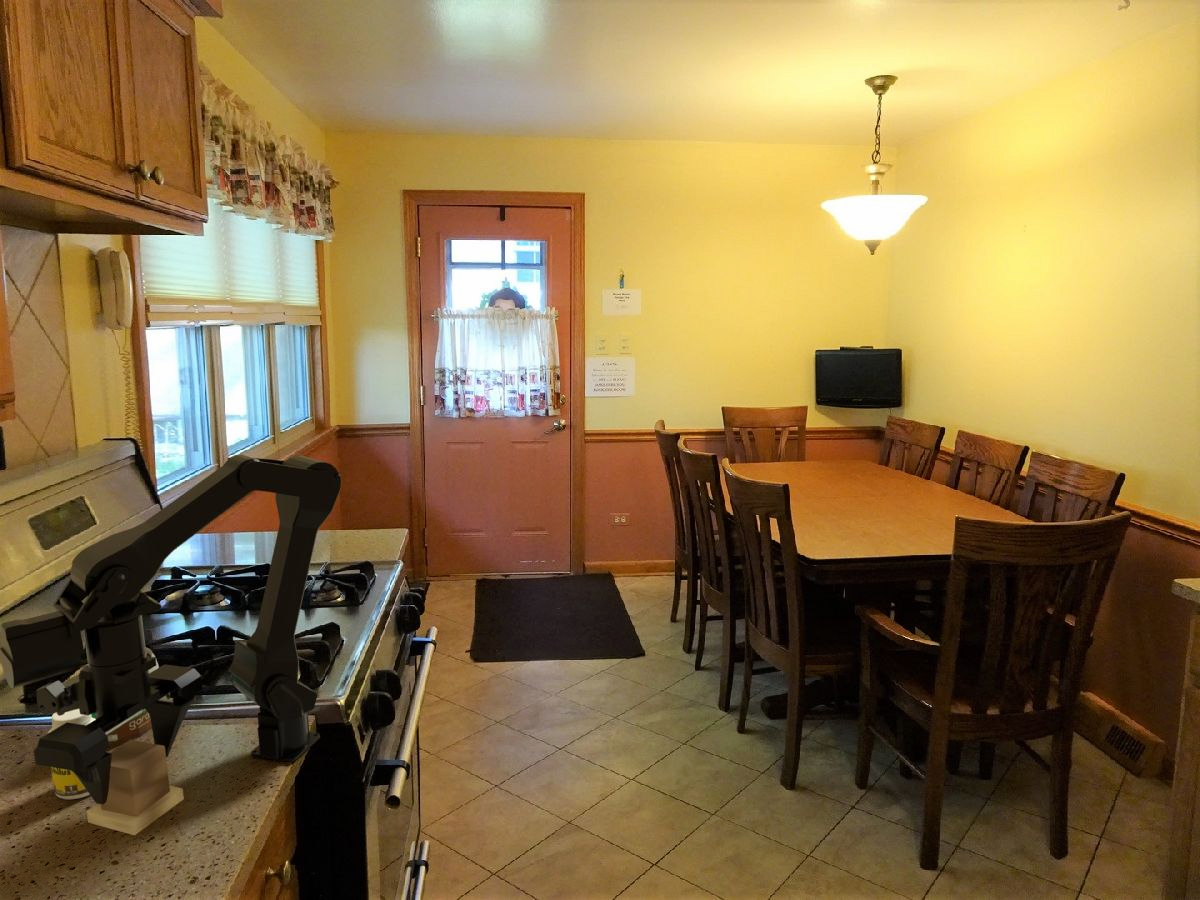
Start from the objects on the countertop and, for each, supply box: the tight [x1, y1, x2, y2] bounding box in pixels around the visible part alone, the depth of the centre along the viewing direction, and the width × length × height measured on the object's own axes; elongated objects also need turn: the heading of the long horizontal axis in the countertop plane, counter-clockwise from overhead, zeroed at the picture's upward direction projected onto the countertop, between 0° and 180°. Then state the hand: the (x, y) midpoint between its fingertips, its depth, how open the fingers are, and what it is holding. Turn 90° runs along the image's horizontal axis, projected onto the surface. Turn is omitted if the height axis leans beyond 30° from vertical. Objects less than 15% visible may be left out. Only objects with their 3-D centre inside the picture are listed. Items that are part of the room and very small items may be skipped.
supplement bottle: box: [47, 709, 96, 800], centre depth 100 cm, size 6×6×10 cm
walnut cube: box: [101, 739, 171, 817], centre depth 96 cm, size 5×5×6 cm
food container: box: [91, 646, 160, 747], centre depth 114 cm, size 12×6×10 cm, turn 179°
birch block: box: [86, 784, 185, 836], centre depth 97 cm, size 7×7×2 cm
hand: (133, 779), depth 96 cm, fingers open, 9 cm apart
